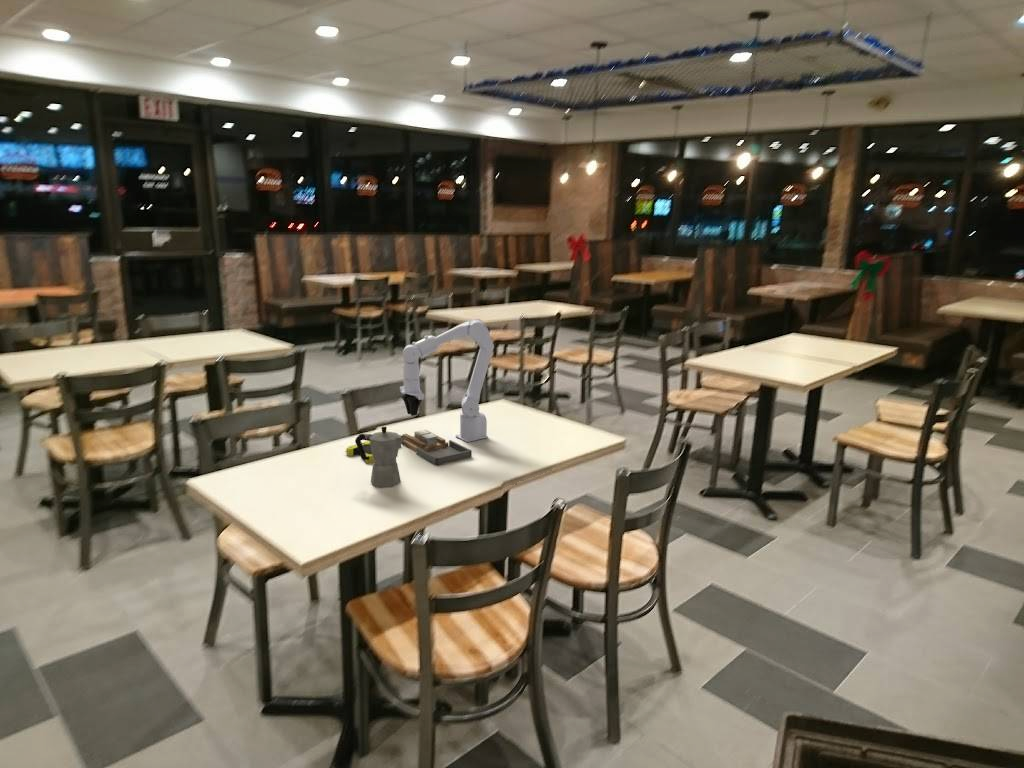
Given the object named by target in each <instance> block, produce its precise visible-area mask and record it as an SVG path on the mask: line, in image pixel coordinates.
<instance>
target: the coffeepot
mask: <svg viewBox="0 0 1024 768" xmlns="http://www.w3.org/2000/svg"><path fill="white" fill-rule="evenodd" d="M380 428H381V431H379V432H374V433H360V434H359V435H358V436H356V437H355V440H354V442H355V445H357V447H358V450H359V452H360V454H359V455H360V458H361V457H362V458H361V459H362V460H363V459H364V460H363V461H365V460H369V457H366V456H365V451H364V449H363V446H362V443H363V442H362V441H370V445H371V450H372V455H373V458H374V462H373V464H372V470H371V477H370V483H371V485H372V486H373V487H374V488H378V489H388V488H389V489H390V488H393V487H396V486H399V484H400V483H402V481H401V480H402V479H401V475H400V471H399V466H398V462H397V457H399V456H398V455H399V454H398V453H399V449H400V448H401V447H400V446H402V445H403V444H402V442H403V441H404V440H405V439H406V437H405V436H403V434H402V435H401V434H399V433H398V432H393V431H387V428H388V427H387V426H382V427H380Z"/></svg>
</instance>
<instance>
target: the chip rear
mask: <svg viewBox="0 0 1024 768" xmlns="http://www.w3.org/2000/svg"><path fill="white" fill-rule="evenodd" d="M426 430H427V429H422V430H417V431H416V430H415V431H414V436H415V438H416V439H417V440H419V441H421V442H422V435H426V434H430V432H431V431H429V430H427V431H426ZM428 431H429V432H428Z"/></svg>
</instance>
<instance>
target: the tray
mask: <svg viewBox="0 0 1024 768" xmlns="http://www.w3.org/2000/svg"><path fill="white" fill-rule="evenodd" d="M415 455H417V456H419V457H421V458H423V459H424V460H425V461H427V462H429V463H431V464H433V465H434V466H441V465H444V464H449V463H453V462H458V461H460V460H461V461H462V460H465V459H469V458H472V457H473V453H472V449H469V448H467V447H465V446H463V445H461V444H460V443H457V442H455V441H453V440H451V439H450V440H448V446H446V447H441V448H437V449H432V450H428V451H424V450H422V449H420V448H419V447H417V448H416V452H415Z"/></svg>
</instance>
